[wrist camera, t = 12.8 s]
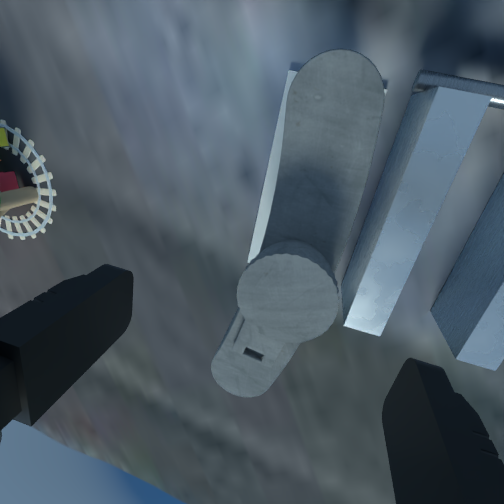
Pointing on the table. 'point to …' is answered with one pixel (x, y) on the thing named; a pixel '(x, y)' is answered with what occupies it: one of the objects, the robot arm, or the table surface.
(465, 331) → the vise
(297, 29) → the table surface
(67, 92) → the table surface
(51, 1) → the table surface
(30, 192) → the train set
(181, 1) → the table surface
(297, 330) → the hip flask
